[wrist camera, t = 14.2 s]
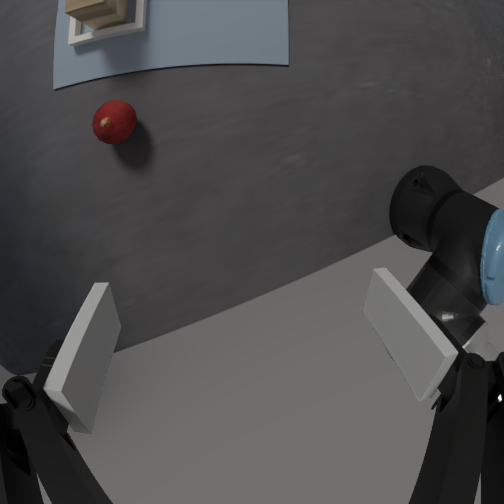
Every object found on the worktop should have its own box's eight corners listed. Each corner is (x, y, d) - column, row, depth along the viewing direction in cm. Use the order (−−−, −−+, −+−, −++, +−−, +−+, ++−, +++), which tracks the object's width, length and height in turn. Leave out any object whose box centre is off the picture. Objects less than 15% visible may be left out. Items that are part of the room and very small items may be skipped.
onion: (129, 147, 38) (112, 156, 31) (97, 130, 36) (73, 136, 29) (149, 111, 36) (135, 111, 29) (115, 94, 34) (95, 92, 27)
